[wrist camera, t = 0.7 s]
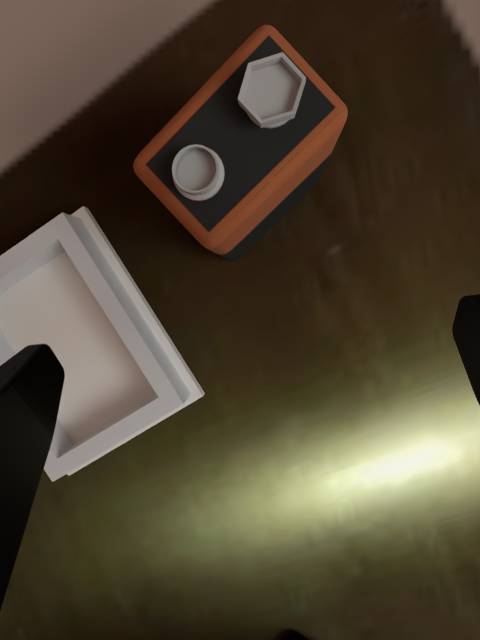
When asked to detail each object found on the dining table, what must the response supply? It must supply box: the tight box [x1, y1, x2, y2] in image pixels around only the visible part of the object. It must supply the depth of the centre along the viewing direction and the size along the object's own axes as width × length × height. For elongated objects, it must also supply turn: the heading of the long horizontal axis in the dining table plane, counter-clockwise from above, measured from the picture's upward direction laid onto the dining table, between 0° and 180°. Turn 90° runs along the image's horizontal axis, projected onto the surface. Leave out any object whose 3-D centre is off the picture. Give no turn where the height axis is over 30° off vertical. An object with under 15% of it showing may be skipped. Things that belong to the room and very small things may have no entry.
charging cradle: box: [0, 206, 205, 482], centre depth 23 cm, size 13×10×3 cm
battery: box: [133, 25, 348, 261], centre depth 17 cm, size 4×7×10 cm, turn 133°
